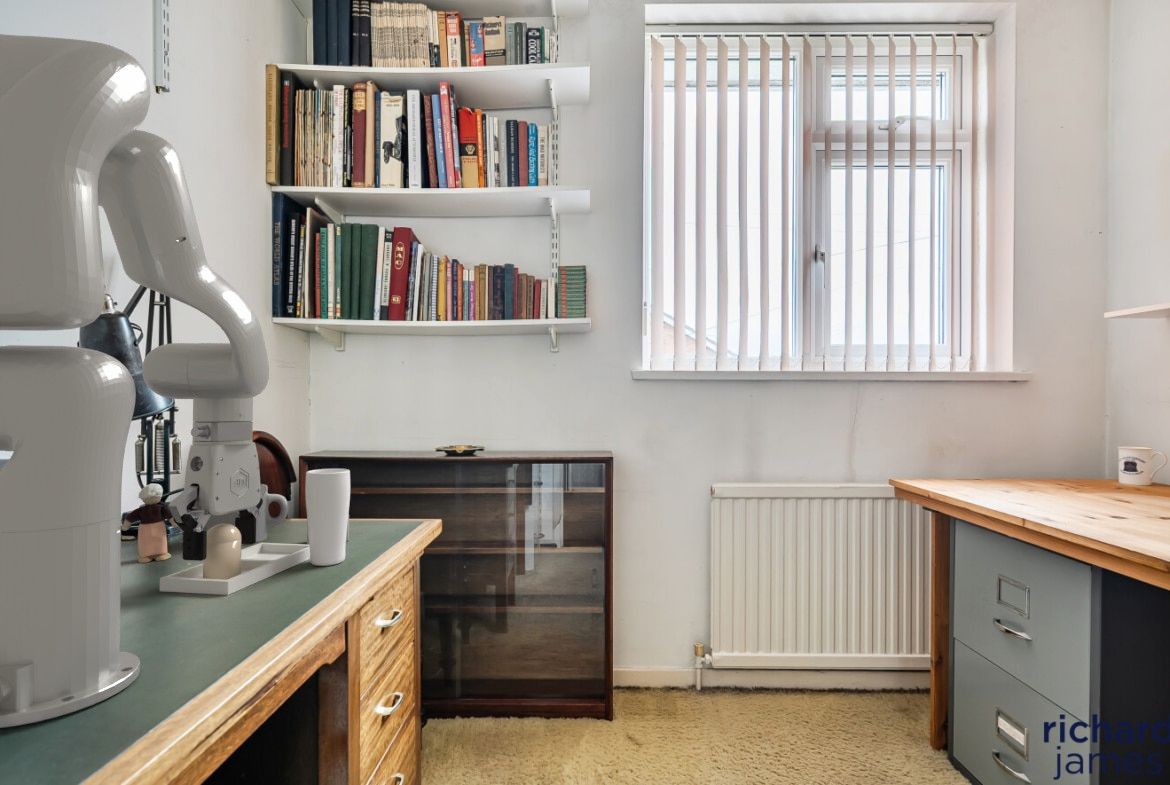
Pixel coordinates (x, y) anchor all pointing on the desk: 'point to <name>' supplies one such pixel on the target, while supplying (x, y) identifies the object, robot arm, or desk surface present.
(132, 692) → the desk surface
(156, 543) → the grandmother figurine
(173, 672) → the desk surface
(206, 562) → the beige domed cylinder
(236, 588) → the white divided tray
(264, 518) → the coffee mug
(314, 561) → the drinking glass
